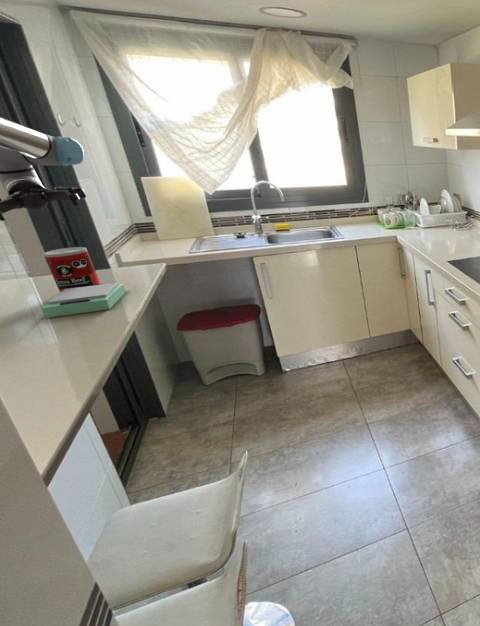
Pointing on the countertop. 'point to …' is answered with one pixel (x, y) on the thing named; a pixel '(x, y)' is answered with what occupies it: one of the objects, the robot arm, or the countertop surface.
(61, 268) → the canned food
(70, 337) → the countertop surface
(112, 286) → the scale
